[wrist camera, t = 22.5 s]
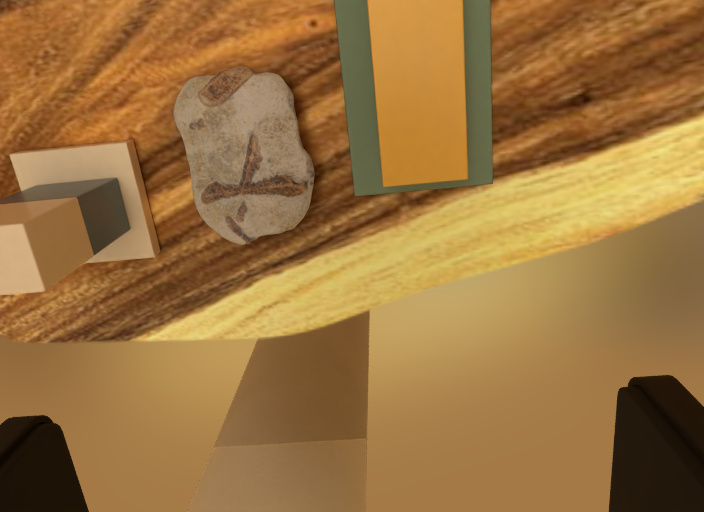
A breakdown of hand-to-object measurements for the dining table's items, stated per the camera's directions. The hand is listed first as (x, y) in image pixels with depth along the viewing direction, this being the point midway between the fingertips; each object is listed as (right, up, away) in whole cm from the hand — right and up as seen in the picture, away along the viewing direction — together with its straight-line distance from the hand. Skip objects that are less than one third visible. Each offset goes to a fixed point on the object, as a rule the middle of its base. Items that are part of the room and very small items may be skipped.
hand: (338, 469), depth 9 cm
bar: (+4, +13, +20) cm, 24 cm away
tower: (-16, +7, +24) cm, 29 cm away
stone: (-6, +10, +22) cm, 25 cm away
